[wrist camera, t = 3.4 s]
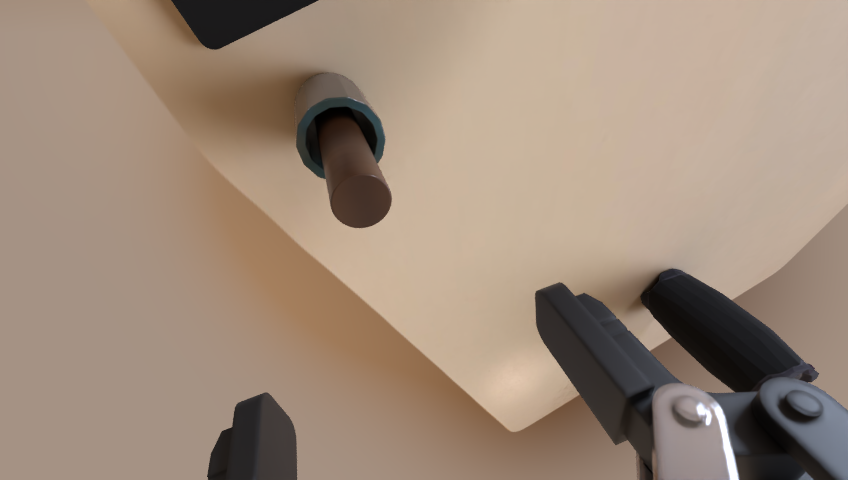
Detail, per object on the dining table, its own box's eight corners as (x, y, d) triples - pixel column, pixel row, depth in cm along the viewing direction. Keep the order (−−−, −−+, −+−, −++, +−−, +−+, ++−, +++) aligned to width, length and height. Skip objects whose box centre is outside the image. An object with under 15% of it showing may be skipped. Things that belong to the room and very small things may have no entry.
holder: (311, 152, 33) (316, 193, 27) (282, 83, 30) (280, 112, 23) (374, 132, 34) (394, 168, 28) (353, 62, 30) (371, 85, 24)
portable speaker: (691, 257, 59) (836, 356, 43) (677, 298, 64) (802, 400, 49) (642, 275, 58) (774, 384, 42) (633, 316, 63) (746, 425, 48)
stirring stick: (320, 134, 32) (342, 236, 19) (307, 98, 30) (321, 185, 18) (355, 123, 32) (398, 217, 20) (343, 88, 31) (383, 165, 18)
